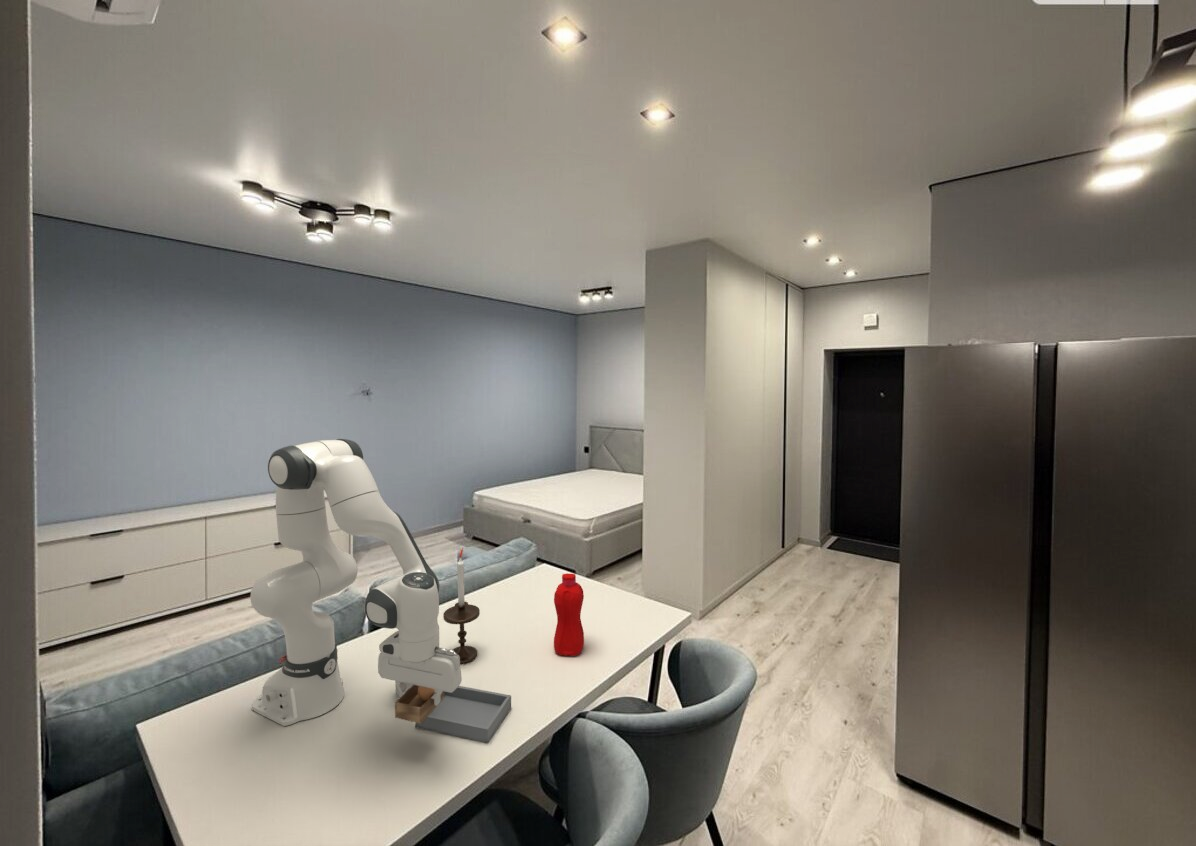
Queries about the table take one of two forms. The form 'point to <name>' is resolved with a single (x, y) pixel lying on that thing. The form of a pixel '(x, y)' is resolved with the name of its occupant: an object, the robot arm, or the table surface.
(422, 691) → the ball
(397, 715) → the small wooden box
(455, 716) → the tray
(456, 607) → the candlestick
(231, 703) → the table surface
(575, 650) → the water bottle
